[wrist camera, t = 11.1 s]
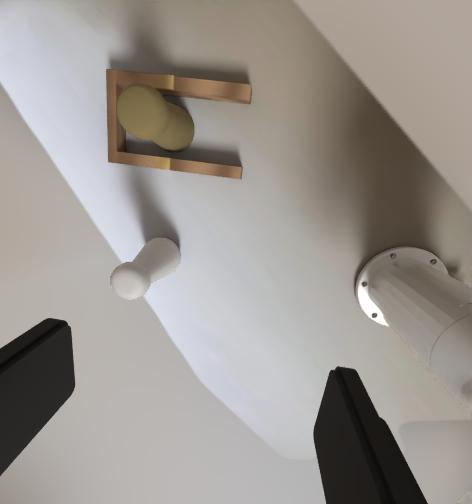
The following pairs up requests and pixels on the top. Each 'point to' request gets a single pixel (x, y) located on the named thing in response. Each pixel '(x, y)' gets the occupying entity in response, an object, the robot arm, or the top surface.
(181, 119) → the pepper shaker
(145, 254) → the salt shaker
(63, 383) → the robot arm
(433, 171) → the top surface
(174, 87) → the wooden u-shaped frame
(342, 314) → the top surface
